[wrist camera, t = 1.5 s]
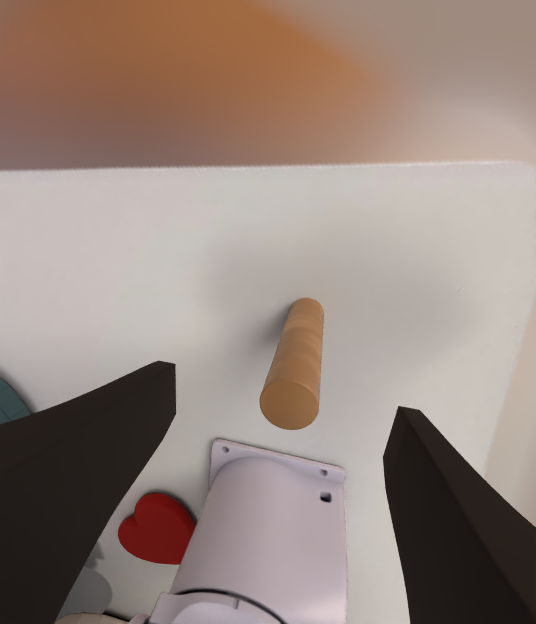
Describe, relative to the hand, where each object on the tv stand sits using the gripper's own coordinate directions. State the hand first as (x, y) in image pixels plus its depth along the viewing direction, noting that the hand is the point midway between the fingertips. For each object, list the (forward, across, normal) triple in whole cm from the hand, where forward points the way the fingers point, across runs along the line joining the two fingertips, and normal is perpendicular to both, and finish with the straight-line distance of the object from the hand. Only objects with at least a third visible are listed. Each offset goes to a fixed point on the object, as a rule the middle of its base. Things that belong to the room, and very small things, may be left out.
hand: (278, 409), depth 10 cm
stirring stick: (+9, 0, 0) cm, 9 cm away
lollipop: (+9, +5, +24) cm, 26 cm away
